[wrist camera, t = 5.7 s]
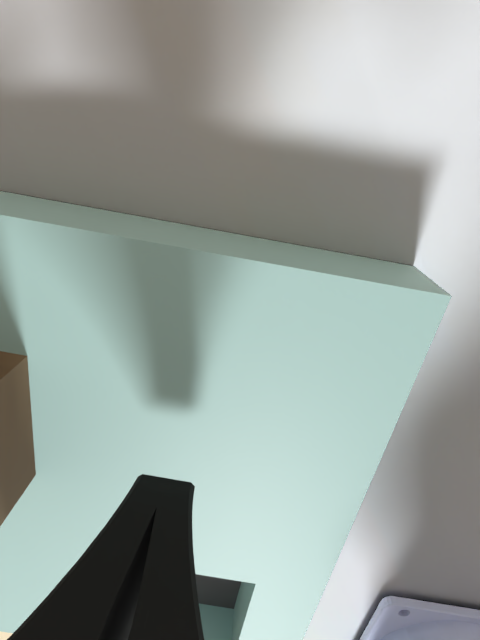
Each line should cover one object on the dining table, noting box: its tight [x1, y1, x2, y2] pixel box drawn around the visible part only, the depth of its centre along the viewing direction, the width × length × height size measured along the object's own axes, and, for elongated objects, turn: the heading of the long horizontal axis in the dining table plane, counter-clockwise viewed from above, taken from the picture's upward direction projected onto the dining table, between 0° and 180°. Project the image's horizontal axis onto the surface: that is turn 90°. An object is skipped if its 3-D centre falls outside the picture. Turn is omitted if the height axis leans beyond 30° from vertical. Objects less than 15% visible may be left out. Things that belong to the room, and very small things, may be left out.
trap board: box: [0, 191, 452, 640], centre depth 15 cm, size 16×29×4 cm, turn 170°
